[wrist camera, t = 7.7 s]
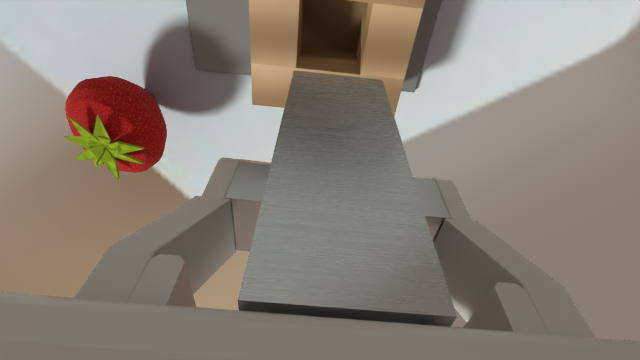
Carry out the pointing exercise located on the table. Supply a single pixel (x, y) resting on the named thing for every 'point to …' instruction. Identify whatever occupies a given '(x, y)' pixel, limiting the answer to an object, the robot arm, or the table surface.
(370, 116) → the square bit
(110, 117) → the strawberry
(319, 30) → the socket block
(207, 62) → the mat
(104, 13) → the table surface
